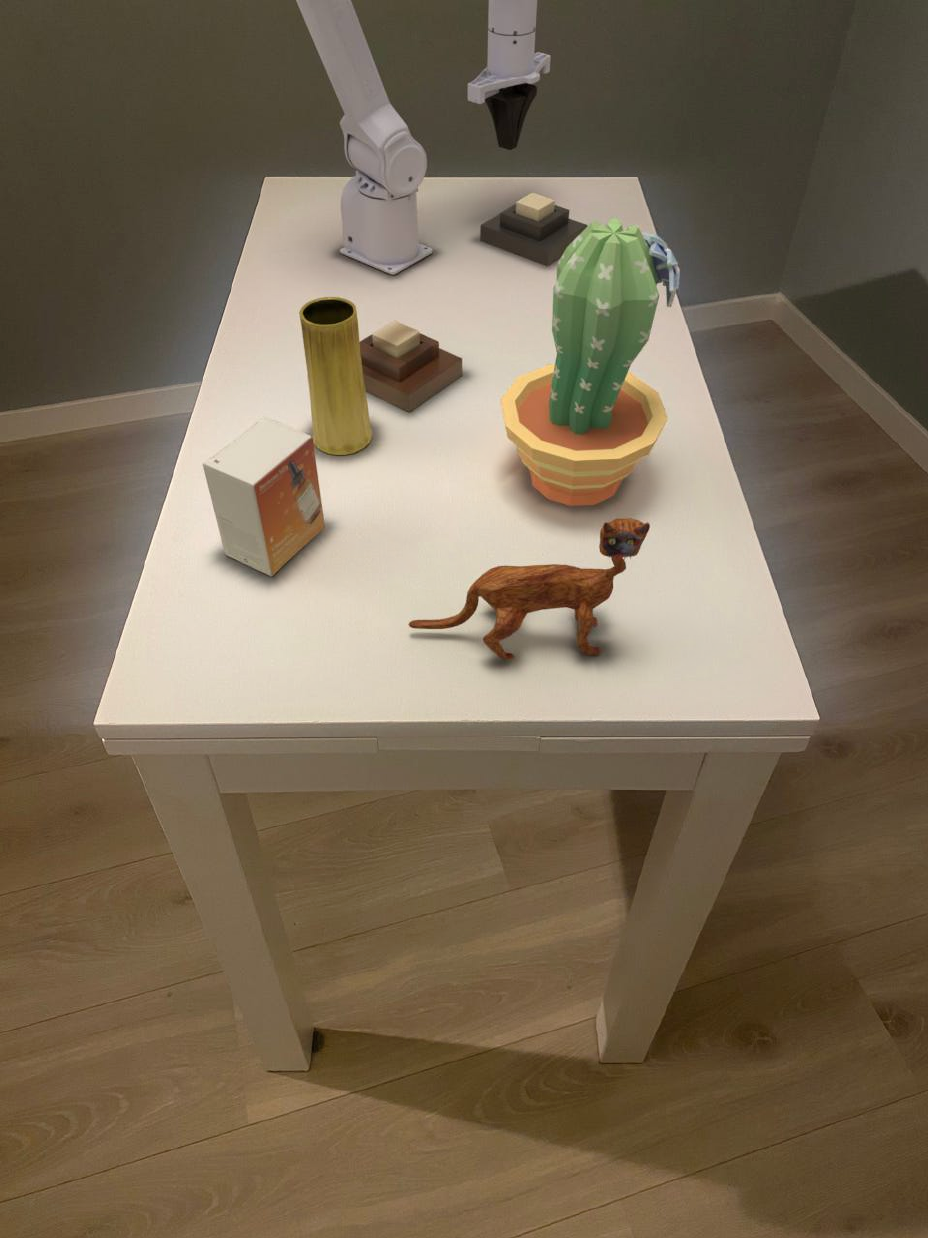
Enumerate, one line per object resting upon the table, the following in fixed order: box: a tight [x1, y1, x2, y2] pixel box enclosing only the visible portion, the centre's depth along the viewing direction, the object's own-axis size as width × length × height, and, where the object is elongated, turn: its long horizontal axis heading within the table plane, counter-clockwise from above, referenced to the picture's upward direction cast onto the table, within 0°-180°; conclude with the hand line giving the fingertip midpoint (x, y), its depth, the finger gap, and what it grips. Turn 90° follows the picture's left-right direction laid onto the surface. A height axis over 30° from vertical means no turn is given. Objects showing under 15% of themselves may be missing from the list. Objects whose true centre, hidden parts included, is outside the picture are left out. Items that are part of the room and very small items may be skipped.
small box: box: [202, 416, 326, 577], centre depth 82 cm, size 8×6×10 cm
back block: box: [479, 203, 589, 267], centre depth 123 cm, size 11×9×4 cm
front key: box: [371, 320, 421, 359], centre depth 100 cm, size 4×4×2 cm
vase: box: [299, 296, 373, 456], centre depth 90 cm, size 6×6×14 cm
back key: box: [515, 192, 556, 222], centre depth 121 cm, size 4×4×2 cm
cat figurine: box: [408, 517, 651, 660], centre depth 73 cm, size 18×7×14 cm, turn 89°
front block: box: [359, 325, 463, 414], centre depth 102 cm, size 11×9×4 cm
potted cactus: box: [500, 217, 681, 507], centre depth 83 cm, size 15×15×25 cm
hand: (507, 146), depth 122 cm, fingers closed
